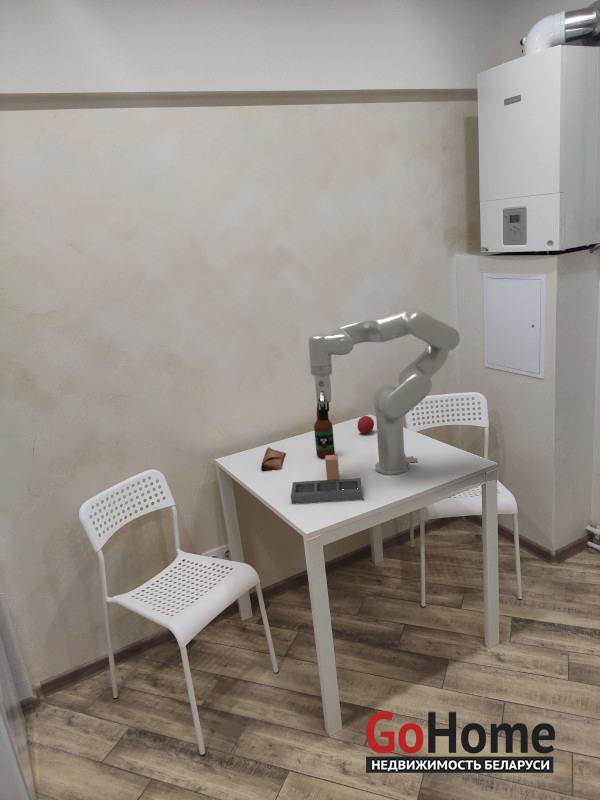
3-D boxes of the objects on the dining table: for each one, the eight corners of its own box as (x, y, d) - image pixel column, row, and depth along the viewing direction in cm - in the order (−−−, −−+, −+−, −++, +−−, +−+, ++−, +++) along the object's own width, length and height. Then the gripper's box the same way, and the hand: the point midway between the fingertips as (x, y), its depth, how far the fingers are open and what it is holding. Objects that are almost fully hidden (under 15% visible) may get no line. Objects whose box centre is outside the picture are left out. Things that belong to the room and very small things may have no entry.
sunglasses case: (283, 469, 235) (272, 456, 234) (268, 479, 237) (258, 466, 235) (286, 452, 252) (277, 440, 251) (273, 461, 254) (263, 449, 252)
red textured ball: (374, 414, 261) (358, 410, 265) (366, 429, 258) (351, 424, 262) (378, 424, 268) (362, 419, 271) (370, 439, 265) (355, 434, 268)
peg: (339, 474, 226) (337, 454, 224) (339, 479, 222) (337, 459, 220) (327, 475, 226) (325, 455, 224) (327, 480, 222) (325, 460, 220)
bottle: (314, 458, 243) (309, 398, 236) (319, 451, 250) (313, 393, 243) (332, 459, 241) (327, 398, 234) (336, 452, 248) (331, 393, 241)
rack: (361, 485, 215) (360, 477, 214) (362, 499, 205) (362, 491, 204) (293, 489, 217) (292, 482, 216) (291, 503, 207) (290, 495, 206)
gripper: (331, 374, 205) (334, 423, 210) (332, 363, 222) (335, 407, 227) (309, 376, 206) (312, 424, 211) (312, 364, 223) (315, 408, 227)
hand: (324, 415), depth 219 cm, fingers open, 9 cm apart
